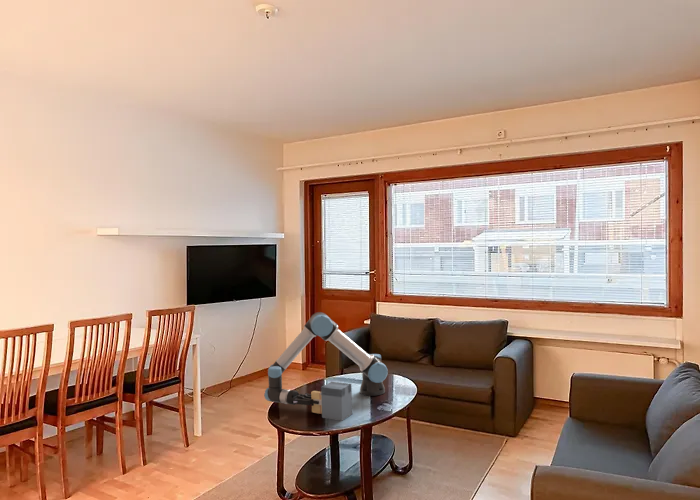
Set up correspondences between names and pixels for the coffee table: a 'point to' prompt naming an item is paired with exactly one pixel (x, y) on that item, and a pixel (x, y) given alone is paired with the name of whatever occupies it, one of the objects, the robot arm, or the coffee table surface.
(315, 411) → the taped cardboard box
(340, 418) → the dispenser
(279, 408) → the coffee table surface
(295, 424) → the coffee table surface
